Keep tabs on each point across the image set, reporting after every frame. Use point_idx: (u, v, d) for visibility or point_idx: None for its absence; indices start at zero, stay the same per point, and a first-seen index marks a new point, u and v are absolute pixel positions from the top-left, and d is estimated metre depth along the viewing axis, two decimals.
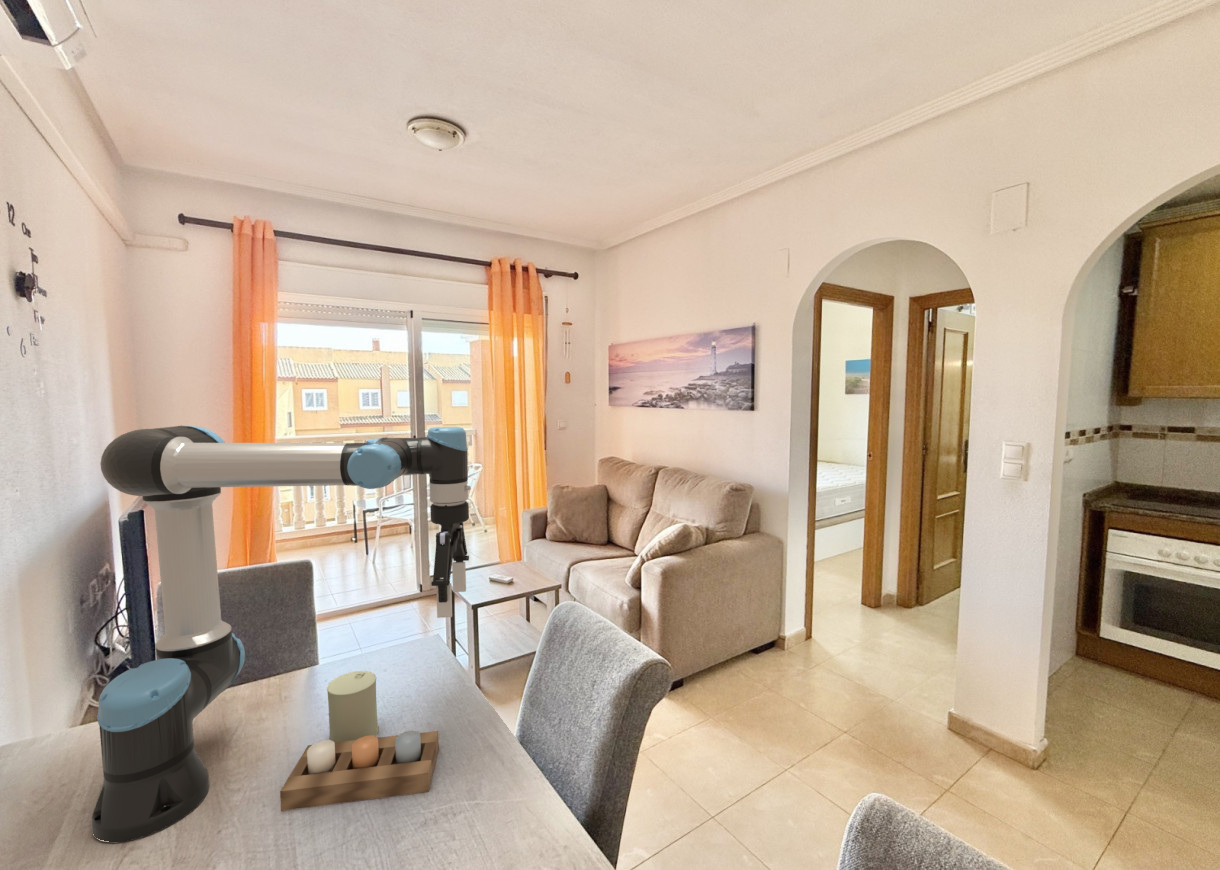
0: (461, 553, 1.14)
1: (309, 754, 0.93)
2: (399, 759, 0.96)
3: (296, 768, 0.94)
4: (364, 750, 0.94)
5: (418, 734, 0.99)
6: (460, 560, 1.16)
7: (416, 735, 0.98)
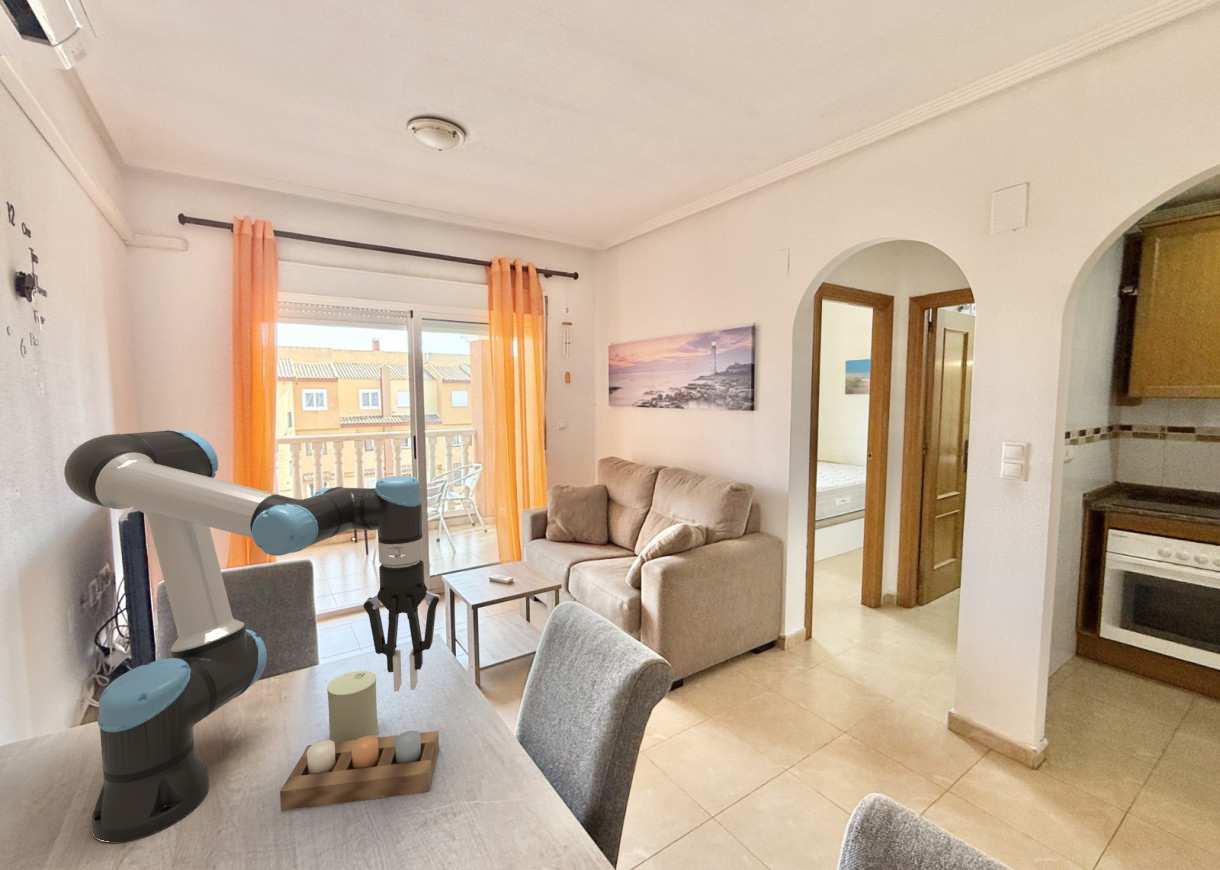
0: None
1: (309, 754, 0.93)
2: (399, 759, 0.96)
3: (296, 768, 0.94)
4: (364, 750, 0.94)
5: (418, 734, 0.99)
6: None
7: (416, 735, 0.98)
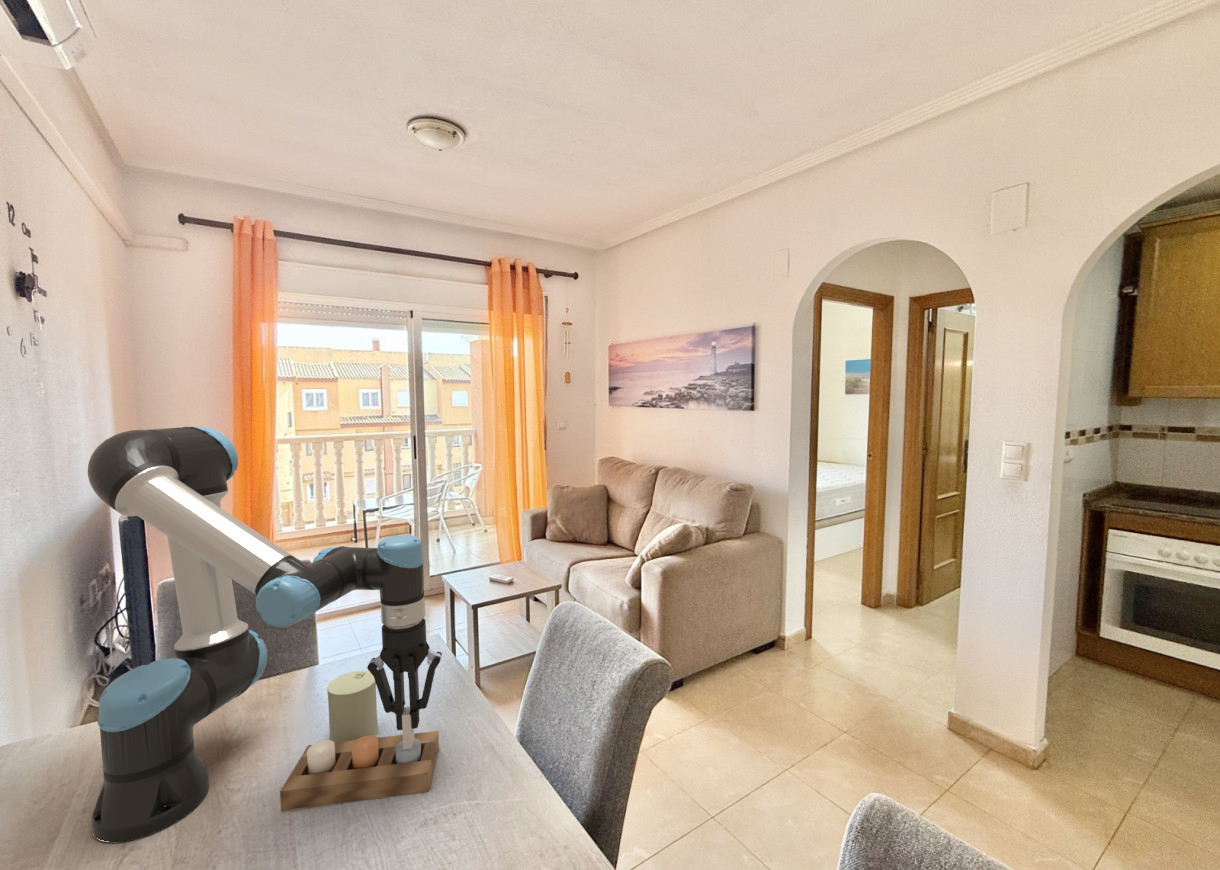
0: None
1: (309, 754, 0.93)
2: None
3: (296, 768, 0.94)
4: (364, 750, 0.94)
5: (418, 741, 0.99)
6: None
7: (416, 743, 0.98)
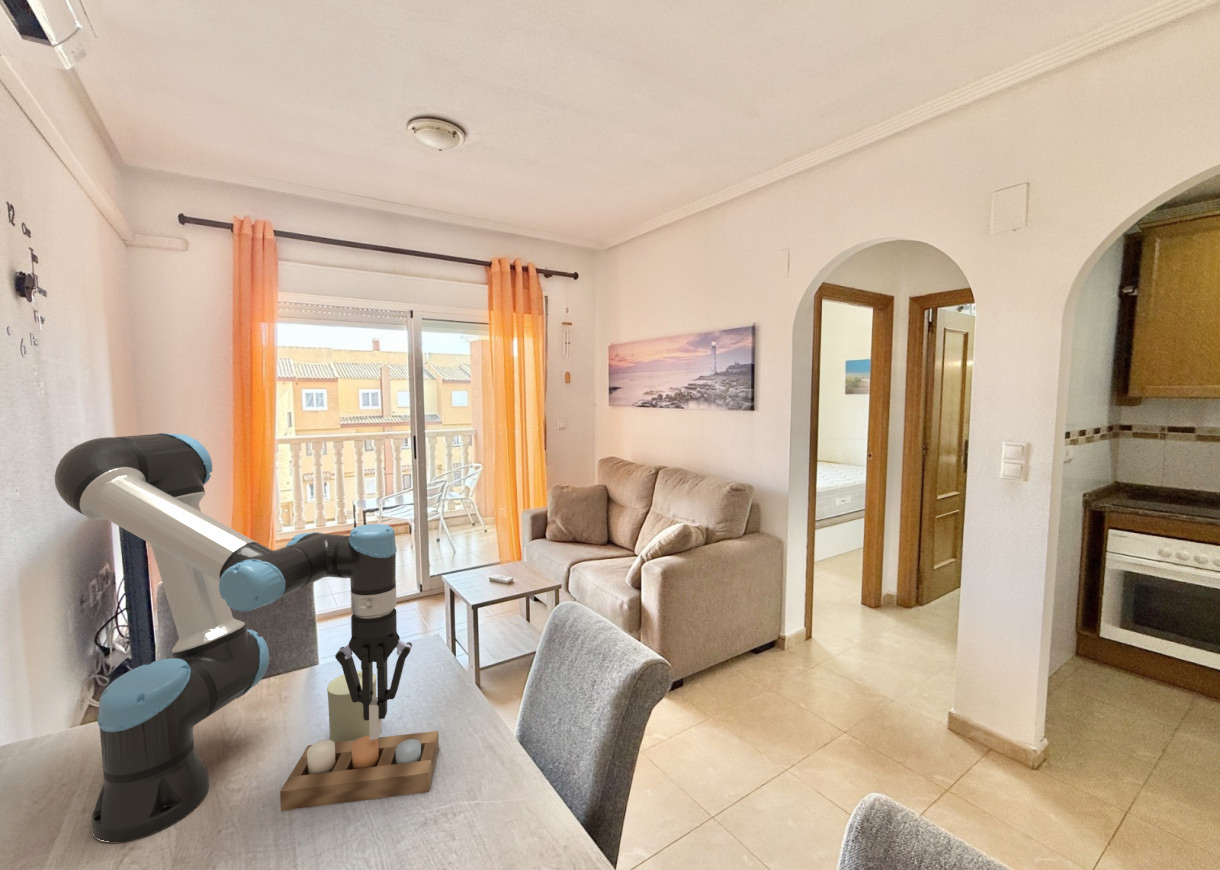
0: None
1: (309, 754, 0.93)
2: None
3: (296, 768, 0.94)
4: (364, 750, 0.94)
5: (418, 743, 0.99)
6: None
7: (416, 744, 0.98)
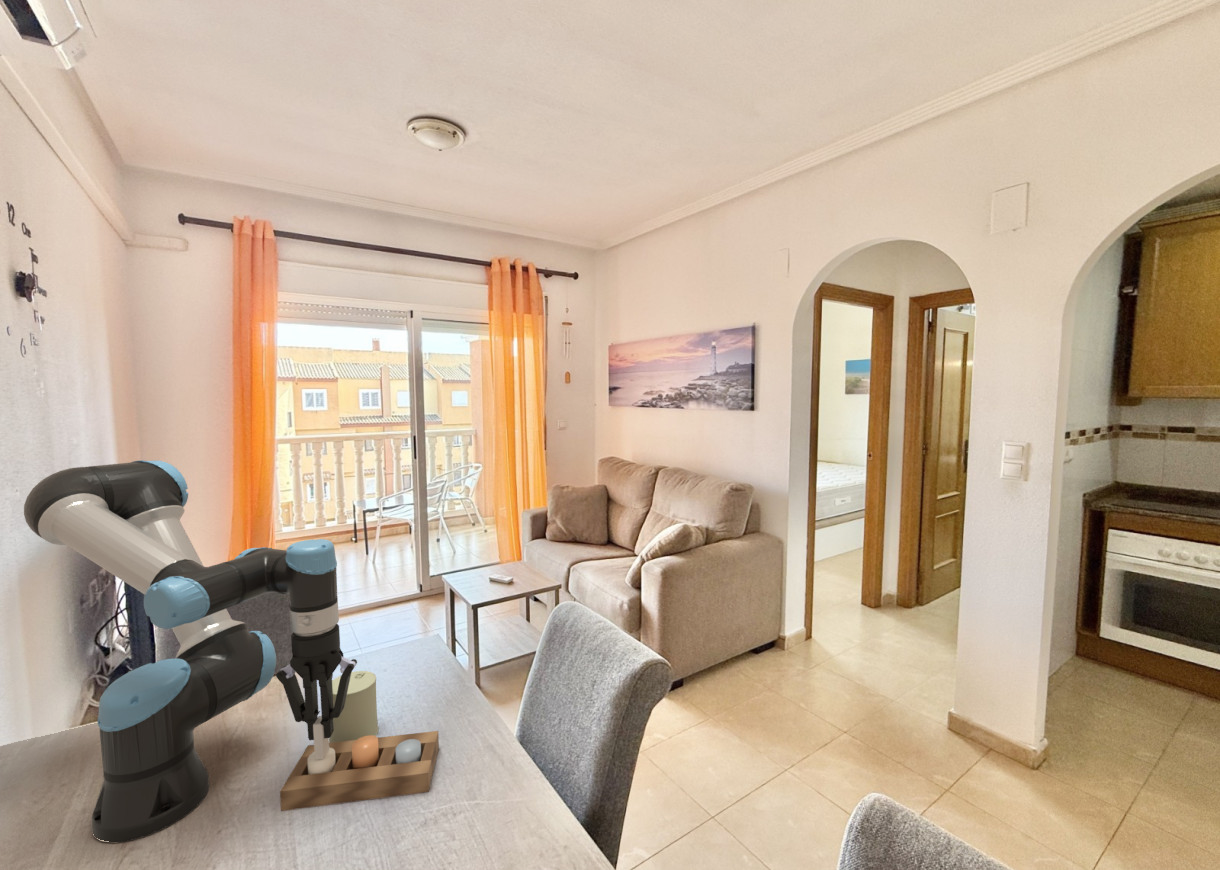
0: None
1: (309, 762, 0.93)
2: None
3: (296, 768, 0.94)
4: (364, 750, 0.94)
5: (418, 743, 0.99)
6: None
7: (416, 744, 0.98)
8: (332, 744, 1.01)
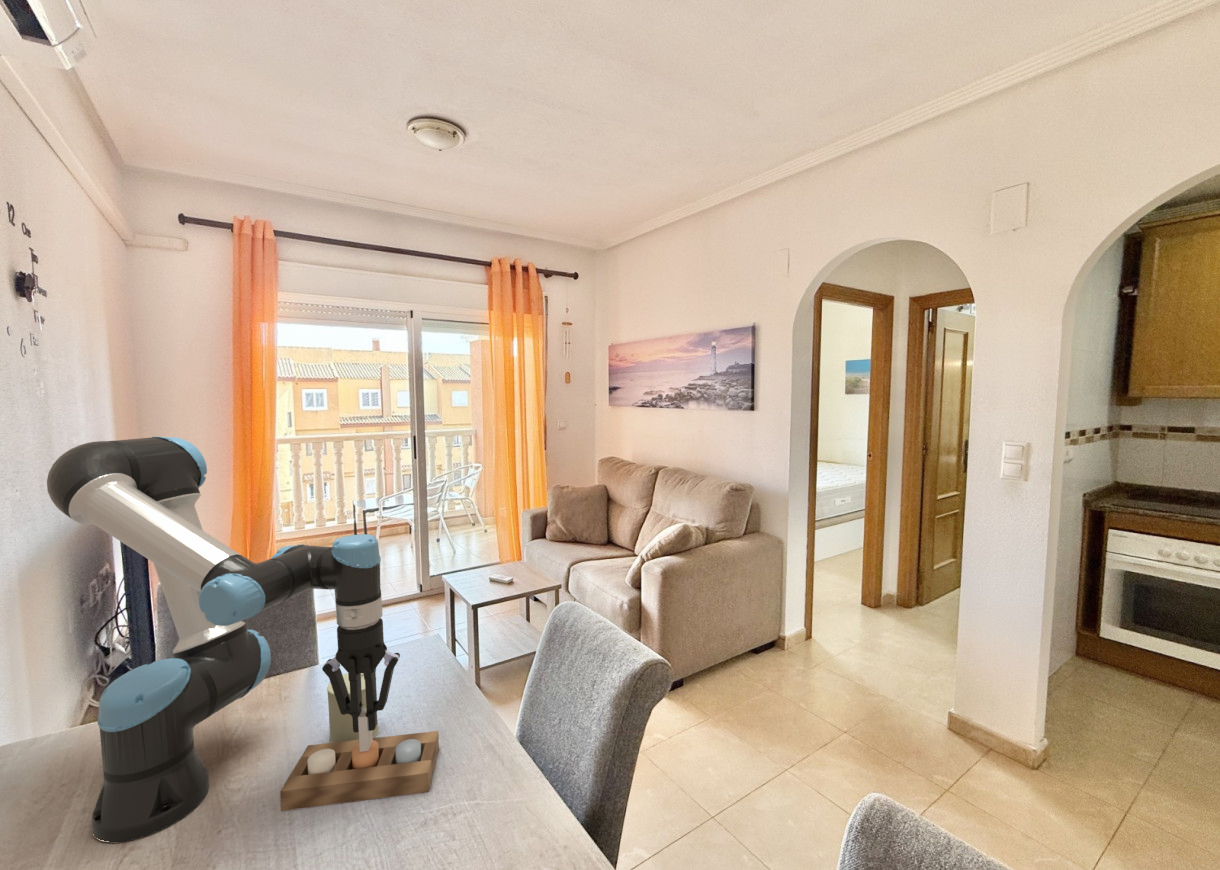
0: None
1: (309, 763, 0.94)
2: None
3: (296, 768, 0.94)
4: (364, 755, 0.95)
5: (418, 743, 0.99)
6: None
7: (416, 744, 0.98)
8: (332, 744, 1.01)
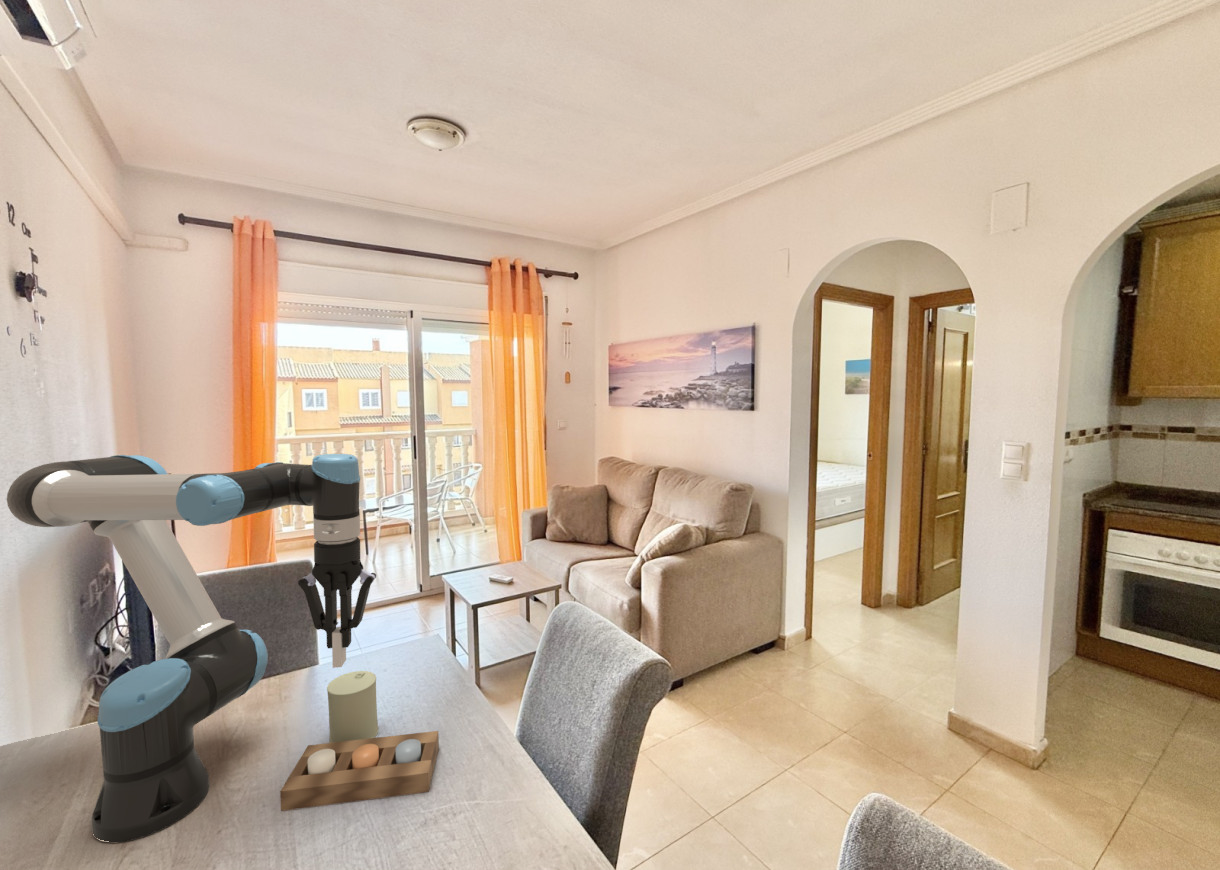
0: None
1: (309, 763, 0.94)
2: None
3: (296, 768, 0.94)
4: (364, 759, 0.95)
5: (418, 743, 0.99)
6: None
7: (416, 744, 0.98)
8: (332, 744, 1.01)
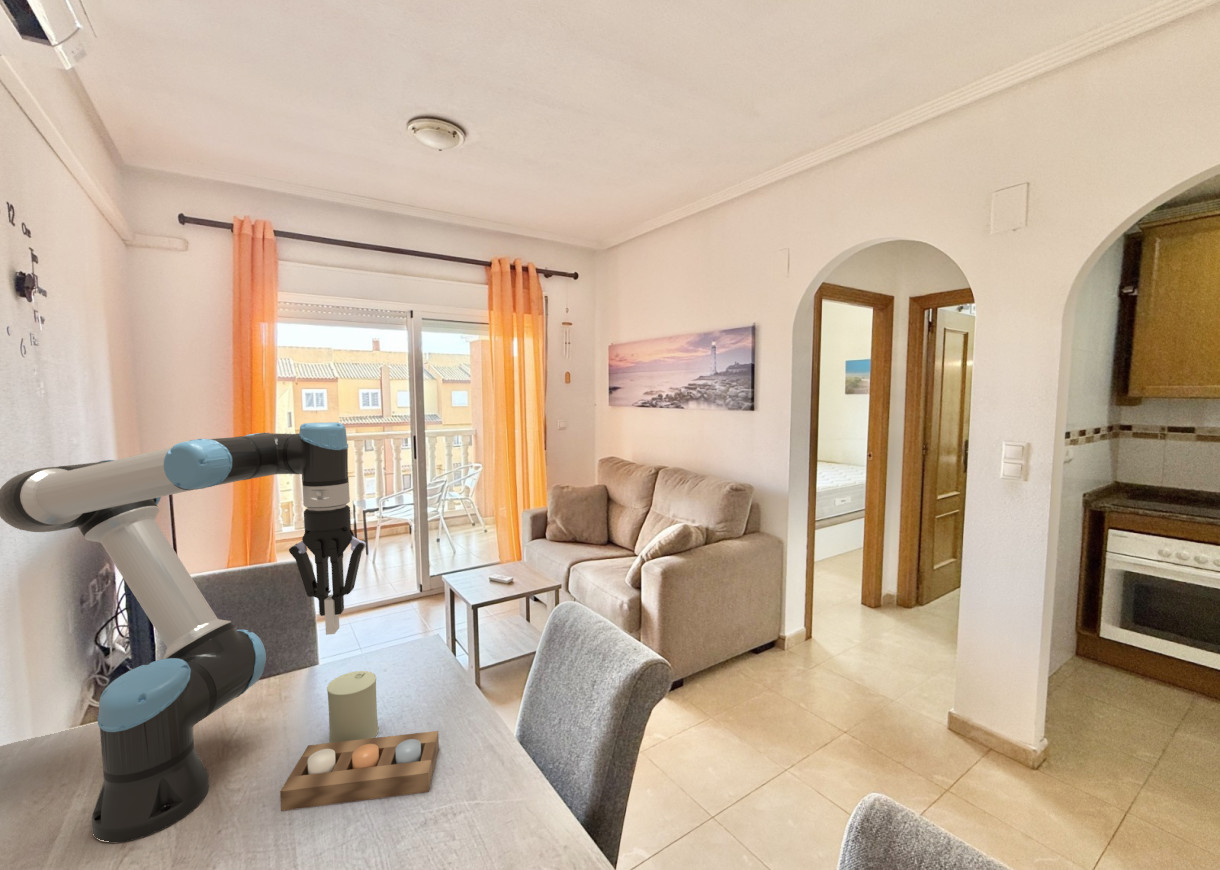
0: None
1: (309, 763, 0.94)
2: None
3: (296, 768, 0.94)
4: (364, 759, 0.95)
5: (418, 743, 0.99)
6: None
7: (416, 744, 0.98)
8: (332, 744, 1.01)
